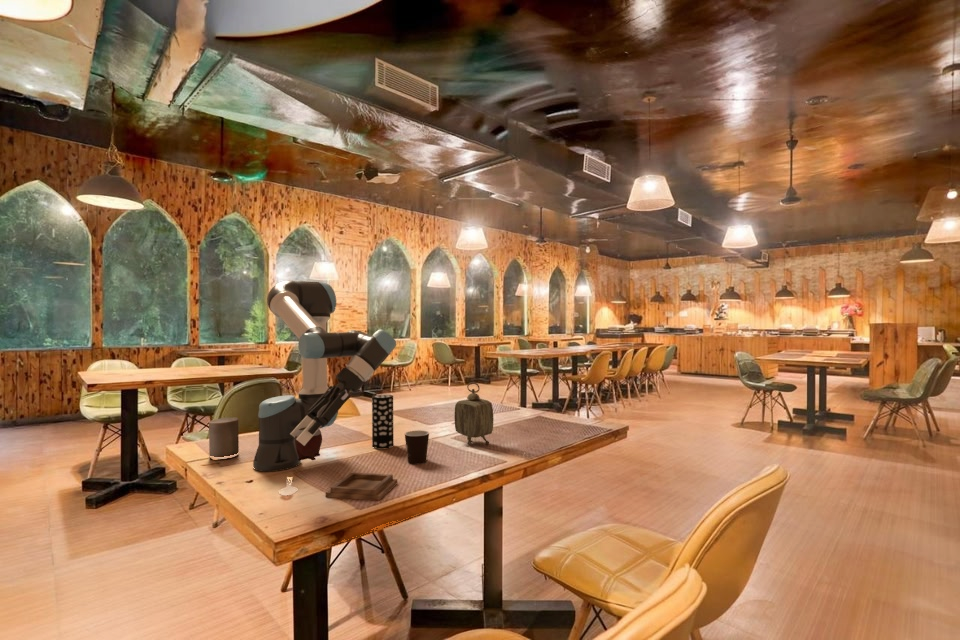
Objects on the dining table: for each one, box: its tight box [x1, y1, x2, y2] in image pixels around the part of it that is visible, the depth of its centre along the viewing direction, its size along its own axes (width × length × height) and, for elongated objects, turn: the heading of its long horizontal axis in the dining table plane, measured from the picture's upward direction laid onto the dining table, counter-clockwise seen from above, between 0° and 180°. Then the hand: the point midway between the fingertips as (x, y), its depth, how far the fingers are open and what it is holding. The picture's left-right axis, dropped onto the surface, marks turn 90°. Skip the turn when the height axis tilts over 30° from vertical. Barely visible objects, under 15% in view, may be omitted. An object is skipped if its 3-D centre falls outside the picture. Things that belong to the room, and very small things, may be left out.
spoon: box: [278, 476, 299, 497], centre depth 139 cm, size 5×18×1 cm, turn 20°
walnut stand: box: [325, 472, 398, 501], centre depth 135 cm, size 16×14×3 cm
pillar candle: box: [208, 416, 240, 457], centre depth 171 cm, size 10×10×15 cm
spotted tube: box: [371, 394, 394, 449], centre depth 184 cm, size 8×8×20 cm
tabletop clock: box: [454, 381, 495, 446], centre depth 186 cm, size 14×9×25 cm, turn 45°
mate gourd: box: [295, 405, 325, 461], centre depth 127 cm, size 8×8×15 cm
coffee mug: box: [404, 429, 430, 465], centre depth 164 cm, size 12×9×10 cm
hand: (297, 439), depth 125 cm, fingers closed on mate gourd, 7 cm apart
